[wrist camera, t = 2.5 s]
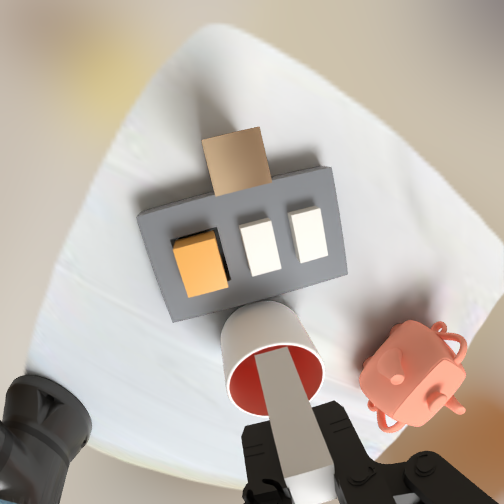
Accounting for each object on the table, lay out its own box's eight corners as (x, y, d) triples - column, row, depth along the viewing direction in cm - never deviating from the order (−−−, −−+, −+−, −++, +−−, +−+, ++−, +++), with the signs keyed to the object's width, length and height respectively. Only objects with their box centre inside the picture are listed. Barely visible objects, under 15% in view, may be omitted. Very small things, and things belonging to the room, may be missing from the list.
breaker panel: (174, 310, 37) (171, 329, 32) (141, 211, 33) (133, 220, 29) (337, 265, 38) (353, 279, 34) (321, 165, 34) (337, 168, 30)
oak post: (211, 182, 33) (215, 196, 22) (202, 145, 32) (201, 140, 20) (248, 172, 33) (272, 182, 22) (240, 136, 32) (259, 126, 21)
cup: (219, 365, 40) (225, 420, 31) (220, 296, 37) (226, 344, 28) (294, 362, 42) (316, 412, 32) (303, 295, 39) (333, 338, 29)
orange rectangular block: (189, 284, 34) (188, 297, 31) (175, 240, 32) (172, 249, 29) (226, 274, 34) (228, 287, 31) (213, 229, 32) (214, 238, 29)
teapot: (349, 325, 41) (395, 382, 29) (443, 299, 43) (497, 338, 31) (345, 402, 46) (376, 459, 34) (428, 373, 47) (468, 417, 35)
